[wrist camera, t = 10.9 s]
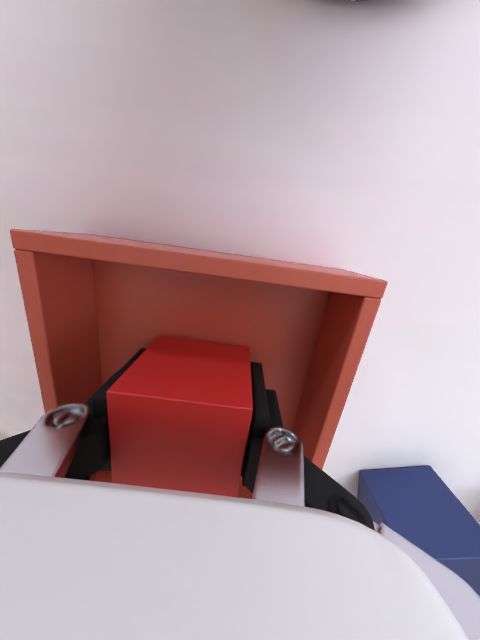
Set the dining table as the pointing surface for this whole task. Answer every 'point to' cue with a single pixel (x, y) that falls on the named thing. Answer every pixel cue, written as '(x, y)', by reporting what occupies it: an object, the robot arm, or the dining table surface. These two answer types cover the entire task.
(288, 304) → the red bin
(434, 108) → the dining table surface
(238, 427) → the red block
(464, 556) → the navy block
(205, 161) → the dining table surface
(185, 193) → the dining table surface
